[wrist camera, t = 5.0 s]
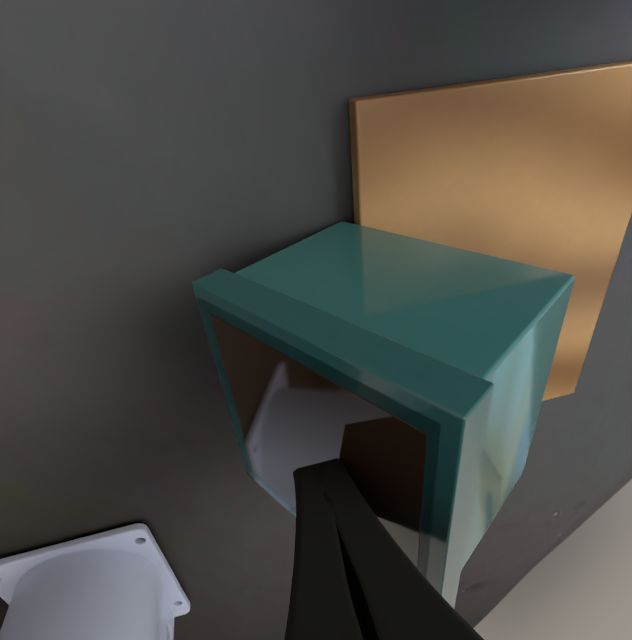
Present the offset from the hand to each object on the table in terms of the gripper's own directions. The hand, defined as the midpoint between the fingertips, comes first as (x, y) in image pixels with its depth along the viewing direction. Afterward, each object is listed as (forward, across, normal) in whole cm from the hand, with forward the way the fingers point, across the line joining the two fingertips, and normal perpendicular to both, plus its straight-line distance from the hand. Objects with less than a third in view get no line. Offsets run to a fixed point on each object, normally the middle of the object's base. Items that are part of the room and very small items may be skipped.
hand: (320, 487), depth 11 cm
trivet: (+8, -10, 0) cm, 13 cm away
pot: (+6, 0, 0) cm, 6 cm away
